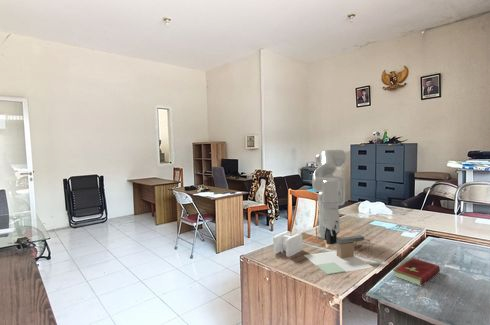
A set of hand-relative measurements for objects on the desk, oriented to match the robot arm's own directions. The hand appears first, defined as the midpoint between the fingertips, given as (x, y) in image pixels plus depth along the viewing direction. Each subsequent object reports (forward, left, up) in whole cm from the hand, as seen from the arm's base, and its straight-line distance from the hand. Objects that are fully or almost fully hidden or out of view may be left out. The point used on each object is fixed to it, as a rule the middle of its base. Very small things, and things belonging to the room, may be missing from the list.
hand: (330, 241), depth 133 cm
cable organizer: (-27, -11, -16) cm, 33 cm away
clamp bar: (-11, +18, -6) cm, 22 cm away
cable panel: (-7, +8, -15) cm, 19 cm away
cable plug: (0, 0, -1) cm, 1 cm away
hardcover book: (+15, +37, -16) cm, 43 cm away
